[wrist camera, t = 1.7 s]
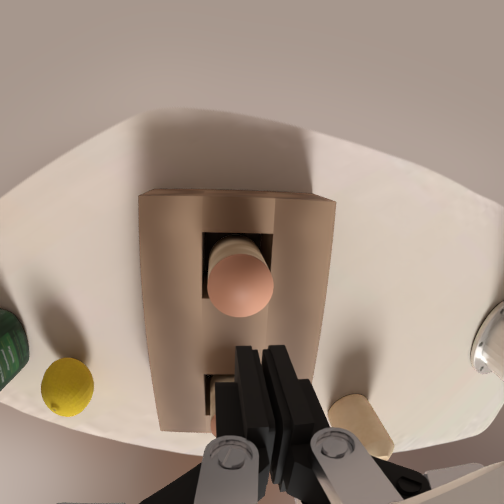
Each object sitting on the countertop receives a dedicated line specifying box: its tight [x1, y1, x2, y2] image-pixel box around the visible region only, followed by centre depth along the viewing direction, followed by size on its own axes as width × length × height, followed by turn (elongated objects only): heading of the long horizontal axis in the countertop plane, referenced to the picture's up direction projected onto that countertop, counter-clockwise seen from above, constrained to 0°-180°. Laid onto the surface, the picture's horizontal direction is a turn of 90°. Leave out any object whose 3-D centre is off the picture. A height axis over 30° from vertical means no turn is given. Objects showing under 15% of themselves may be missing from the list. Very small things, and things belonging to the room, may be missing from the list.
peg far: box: [210, 374, 235, 437], centre depth 25 cm, size 4×4×6 cm
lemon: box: [41, 358, 94, 417], centre depth 27 cm, size 6×6×8 cm
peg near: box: [207, 235, 274, 317], centre depth 22 cm, size 4×4×6 cm
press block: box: [138, 189, 336, 433], centre depth 28 cm, size 14×22×6 cm, turn 177°
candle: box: [328, 394, 394, 461], centre depth 32 cm, size 6×6×10 cm
